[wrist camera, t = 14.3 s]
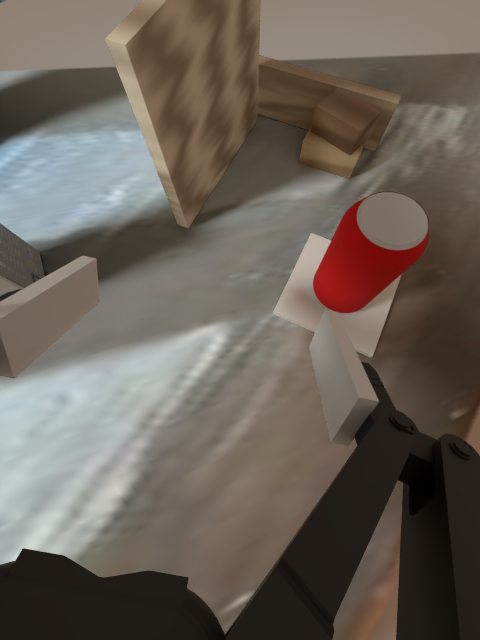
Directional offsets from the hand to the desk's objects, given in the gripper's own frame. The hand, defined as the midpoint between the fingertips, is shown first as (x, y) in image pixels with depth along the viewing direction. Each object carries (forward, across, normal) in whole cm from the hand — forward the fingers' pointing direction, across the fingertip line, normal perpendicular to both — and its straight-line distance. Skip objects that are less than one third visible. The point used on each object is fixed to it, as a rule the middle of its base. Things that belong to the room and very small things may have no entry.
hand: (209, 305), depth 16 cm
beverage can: (+14, +12, -3) cm, 19 cm away
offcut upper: (+28, +10, +12) cm, 31 cm away
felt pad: (+15, +13, -3) cm, 20 cm away
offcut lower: (+30, +10, +9) cm, 33 cm away
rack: (+26, +4, +5) cm, 27 cm away
